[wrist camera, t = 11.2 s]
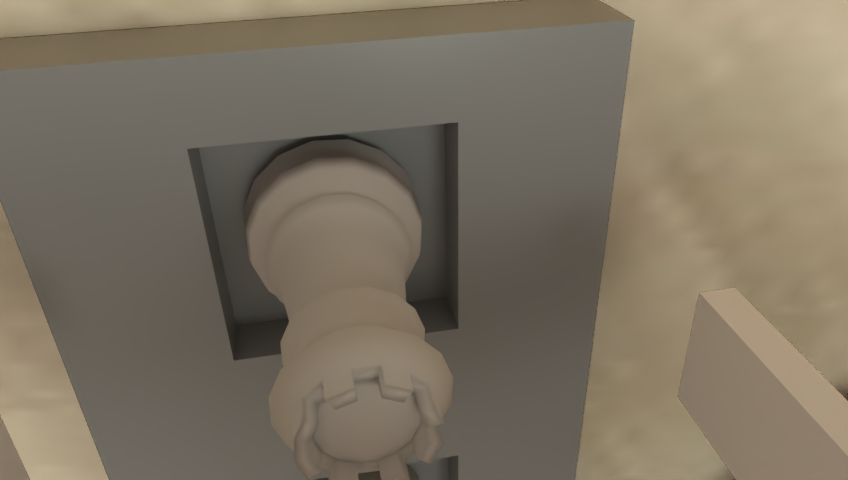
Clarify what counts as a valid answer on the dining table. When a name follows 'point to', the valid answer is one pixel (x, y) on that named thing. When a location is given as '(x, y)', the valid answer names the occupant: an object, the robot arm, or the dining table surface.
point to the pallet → (245, 160)
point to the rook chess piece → (347, 311)
